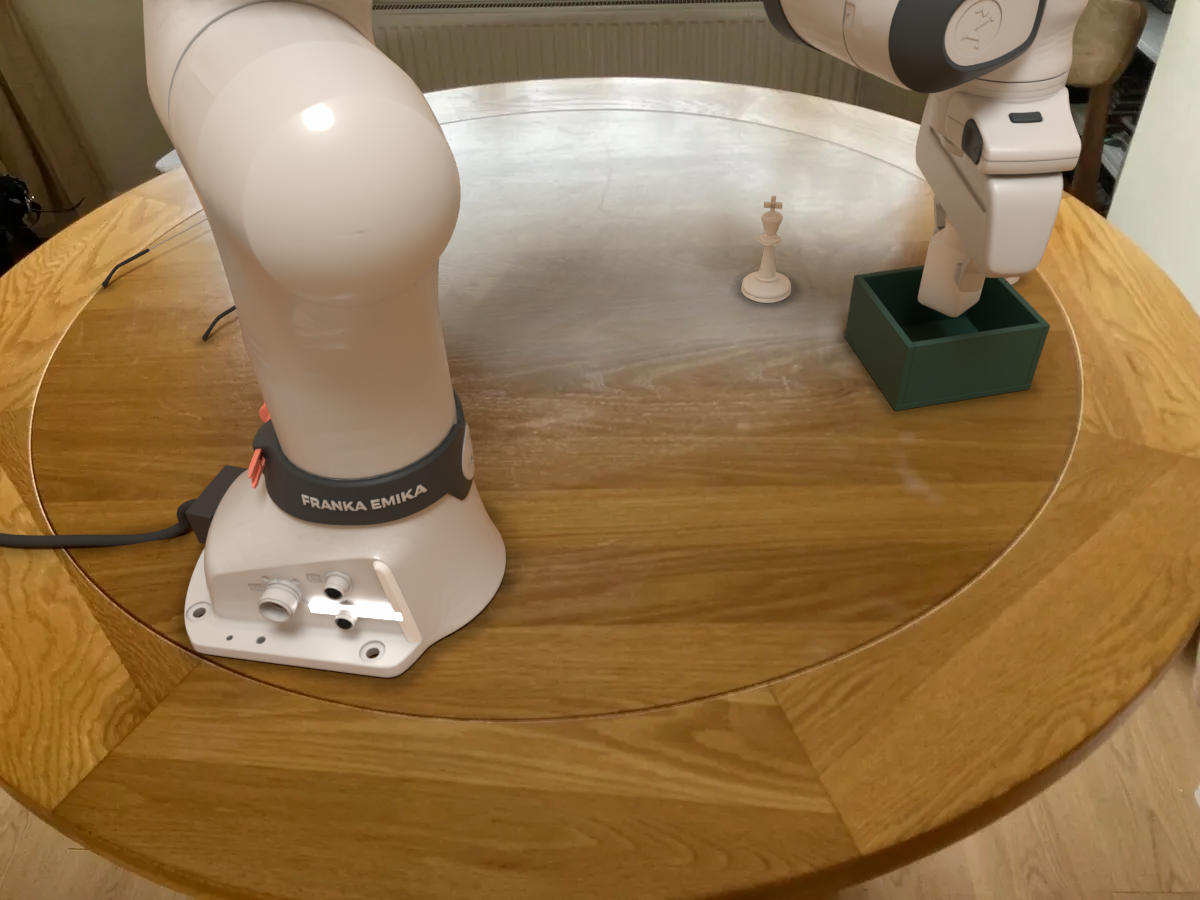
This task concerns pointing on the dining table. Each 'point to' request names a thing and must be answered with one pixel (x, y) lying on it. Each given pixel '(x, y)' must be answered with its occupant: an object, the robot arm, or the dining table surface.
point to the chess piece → (768, 262)
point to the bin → (942, 340)
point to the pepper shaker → (945, 274)
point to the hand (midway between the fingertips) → (955, 266)
